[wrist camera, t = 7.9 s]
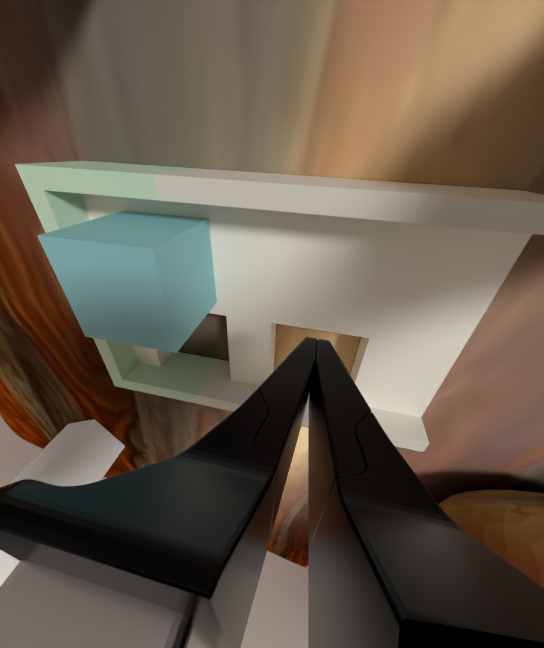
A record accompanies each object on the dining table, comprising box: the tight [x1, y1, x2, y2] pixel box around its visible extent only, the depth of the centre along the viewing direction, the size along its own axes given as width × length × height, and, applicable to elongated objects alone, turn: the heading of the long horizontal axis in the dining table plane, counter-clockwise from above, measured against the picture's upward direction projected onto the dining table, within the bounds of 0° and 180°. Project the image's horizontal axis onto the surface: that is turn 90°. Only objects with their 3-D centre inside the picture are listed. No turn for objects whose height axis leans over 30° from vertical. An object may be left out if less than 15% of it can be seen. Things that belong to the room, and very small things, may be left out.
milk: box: [0, 419, 125, 586], centre depth 27 cm, size 6×6×22 cm
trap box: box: [15, 161, 544, 452], centre depth 16 cm, size 23×15×4 cm, turn 87°
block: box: [38, 211, 217, 353], centre depth 13 cm, size 5×5×5 cm
